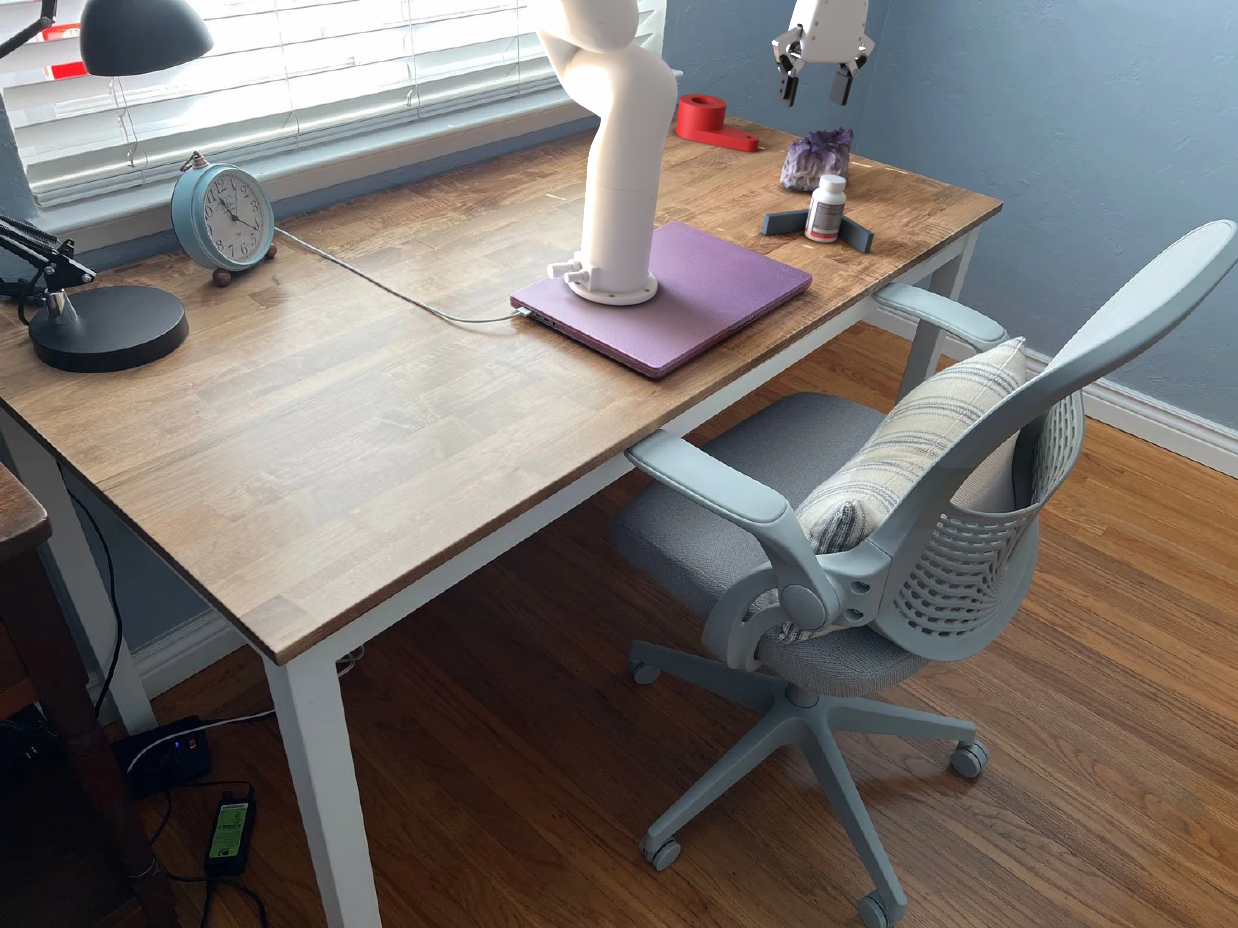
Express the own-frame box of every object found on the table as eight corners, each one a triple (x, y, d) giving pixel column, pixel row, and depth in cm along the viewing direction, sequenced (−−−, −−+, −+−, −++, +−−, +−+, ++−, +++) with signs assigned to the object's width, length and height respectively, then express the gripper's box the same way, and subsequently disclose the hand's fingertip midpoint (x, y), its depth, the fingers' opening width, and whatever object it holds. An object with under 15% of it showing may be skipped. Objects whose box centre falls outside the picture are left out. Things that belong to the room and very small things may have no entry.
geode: (798, 159, 187) (817, 109, 182) (853, 181, 185) (873, 131, 179) (767, 184, 172) (786, 130, 166) (826, 208, 169) (847, 154, 163)
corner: (804, 262, 147) (808, 243, 145) (761, 232, 155) (764, 214, 153) (869, 252, 153) (874, 233, 151) (824, 224, 161) (829, 206, 159)
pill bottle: (843, 240, 156) (857, 182, 150) (819, 245, 153) (833, 186, 147) (820, 228, 159) (834, 171, 153) (797, 233, 156) (809, 174, 151)
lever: (667, 133, 193) (671, 100, 189) (689, 124, 199) (694, 91, 195) (746, 156, 186) (752, 122, 182) (766, 146, 192) (772, 112, 188)
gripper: (872, -32, 132) (840, 95, 142) (773, -38, 124) (747, 97, 134) (909, -21, 127) (873, 110, 137) (808, -26, 119) (778, 113, 129)
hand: (811, 103), depth 136 cm, fingers open, 9 cm apart
